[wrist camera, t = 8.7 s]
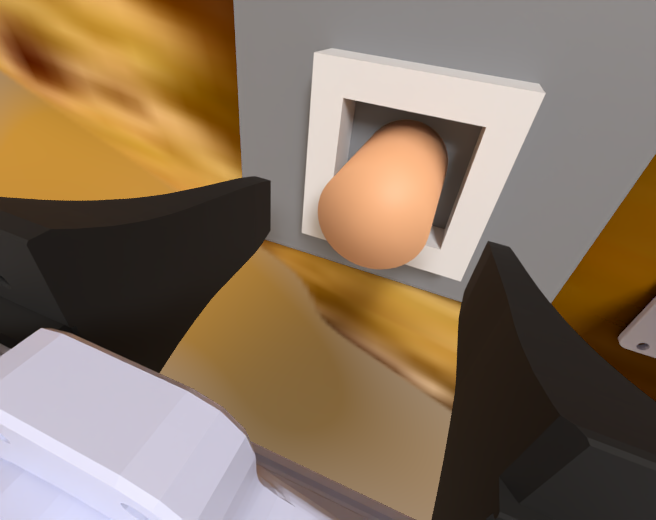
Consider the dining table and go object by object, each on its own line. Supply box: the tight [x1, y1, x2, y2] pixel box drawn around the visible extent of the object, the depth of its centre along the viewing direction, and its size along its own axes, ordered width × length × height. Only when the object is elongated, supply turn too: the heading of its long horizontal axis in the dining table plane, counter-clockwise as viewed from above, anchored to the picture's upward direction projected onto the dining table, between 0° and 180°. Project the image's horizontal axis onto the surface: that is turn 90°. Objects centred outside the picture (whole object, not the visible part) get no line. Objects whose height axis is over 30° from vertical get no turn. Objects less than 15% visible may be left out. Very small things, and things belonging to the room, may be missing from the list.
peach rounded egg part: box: [318, 120, 448, 269], centre depth 14 cm, size 4×4×6 cm
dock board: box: [234, 0, 656, 303], centre depth 16 cm, size 18×14×3 cm
